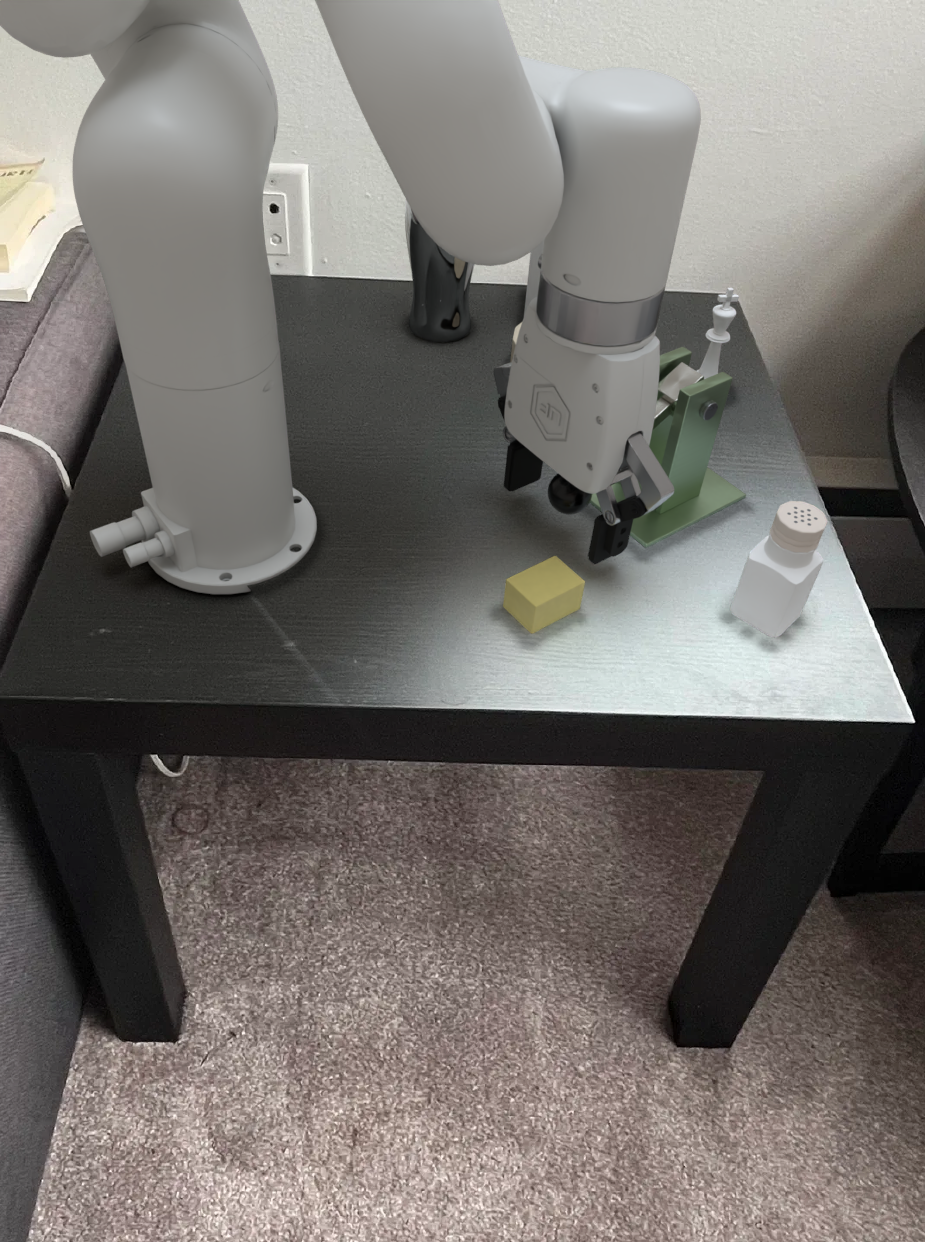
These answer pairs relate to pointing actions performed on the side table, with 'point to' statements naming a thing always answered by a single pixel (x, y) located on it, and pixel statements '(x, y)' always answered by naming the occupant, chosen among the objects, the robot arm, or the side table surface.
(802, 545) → the pepper shaker
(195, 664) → the side table surface
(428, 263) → the beer glass
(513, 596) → the butter
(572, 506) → the lever
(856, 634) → the side table surface
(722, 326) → the chess piece
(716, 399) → the green lever stand
